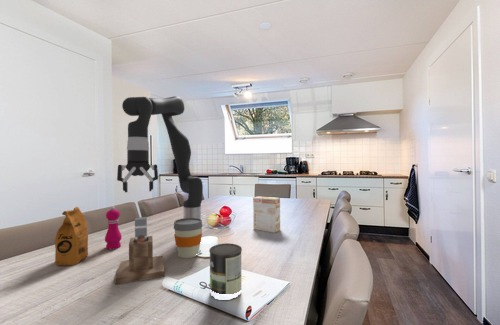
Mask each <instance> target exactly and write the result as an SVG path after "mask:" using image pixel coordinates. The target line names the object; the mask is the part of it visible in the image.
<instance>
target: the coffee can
mask: <svg viewBox="0 0 500 325" xmlns="http://www.w3.org/2000/svg"><path fill="white" fill-rule="evenodd" d="M242 252H243V248H242V246H241V245H239V244H236V243H226V242H225V243H219V244H214V245H213V246H211V247H209V290H210V289H211V290H212V291H214V292H216V293H219V294H234V293H237V292H239V291H240V290H242Z"/></svg>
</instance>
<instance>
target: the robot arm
mask: <svg viewBox="0 0 500 325" xmlns="http://www.w3.org/2000/svg"><path fill="white" fill-rule="evenodd" d="M121 108H122V110H123V112H124V113H125V115H127V116H130V117H137V119H136V120H134V121H130V122H129V123H128V124H127V141H126V142H127V143H126V145H127V146H126V152H127V154H126V156H127V157H126V158H127V159H126V160H127V161H126V165H125V164H118V165H117V173H116V174H117V178H116V181H117V182H122V190H123V192H124V193H128V186H129V185H128V180H129V179H130V178H131V176H132V177H137V176H138V177H139V176H140V177H143V176H145V177H146V178H147V179H148V180H149V181H148V182H149V185H148V189H149V192H152V190H154V181H157V180H158V179H159V173H158V172H159V170H158V165H157V164H150V161H149V158H150V157H149V156H150V155H149V154H150V153H149V150H150V147H149V124H150V121H151V116H155V115H161V117H162V119H163V123H164V125H165V128H166V130H167V134H168V139H169V143H170V147H171V151H172V154H173V155H172V156H173V158H174V162H175V166H176V170H177V171H176V172H177V174H178V175H177V176H178V183H179V188H180V191H182V192H183V193H185V194H188V195H187V196H188V197H187V199H185V200H184V201H183V203H182V204H183V209H182V210H183V218H182V219H184V218H198V219H201V220H202V201H203V192H204V191H203V190H204V186H203V181H202V179H201V178H200V177H198V176H192V174H191V171H190V161H191V157H192V156H191V155H192V149H191V144H190V142H189V139H188V137H187V135H185V134H184V133H183V132H182V131H181V129H179V128H178V126H177V125H176V123H175V121H174V119H173V117H175V116H180V115H183V113H184V112H185V103H184V101H183V99H182V98H181V97H180V96H176V95H175V96H171V97H165V98H157V97H147V96H130V97H126V98H125V99H124V100H123V102H122V104H121ZM150 168H151V170H152V171H153V174H154V177H152V176H151V174H150V173H149V172H148V171H149V170H150ZM125 169H126V170H127V171H128V173H127V174H126V175H125V176H124V177H123V172H124V171H125ZM201 232H202V233H203V227H202V228H201ZM201 237H202V238H203V235H202V236H201Z"/></svg>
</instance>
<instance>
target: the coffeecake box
mask: <svg viewBox="0 0 500 325" xmlns="http://www.w3.org/2000/svg"><path fill="white" fill-rule="evenodd" d="M252 200H253V202H252V203H253V204H252V206H253V208H252V209H253V213H252V214H253V215H252V216H253V219H252V220H253V223H252V224H253V230H256V231H263V232H269V233H275V234H276V233H277V232H279V231H281V198H280V197H273V196H259V195H258V196H254V197H253V199H252Z"/></svg>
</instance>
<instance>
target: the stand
mask: <svg viewBox="0 0 500 325" xmlns="http://www.w3.org/2000/svg"><path fill="white" fill-rule="evenodd" d="M153 239H154V238H153V235H147V241H144V237H142V238H137V242H135V237H130V239H129V243H128V259H127V260H121V261H120V263H119V265H118V269H117V272H116V275H115V279H114V280H115V282H114V283H115V285H118V284H125V283H132V282H137V281H143V280H144V281H145V280H149V279H156V278H162V277H165V263H164V255H157V256H154V252H153V250H154V248H153V247H154V246H153V244H154V243H153V241H154V240H153Z"/></svg>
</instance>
